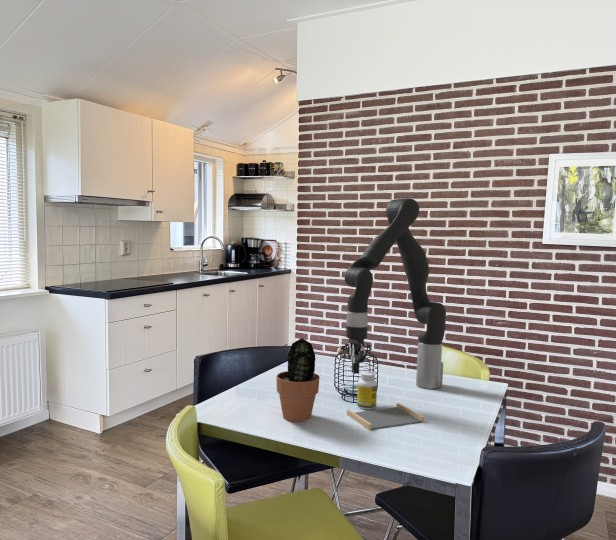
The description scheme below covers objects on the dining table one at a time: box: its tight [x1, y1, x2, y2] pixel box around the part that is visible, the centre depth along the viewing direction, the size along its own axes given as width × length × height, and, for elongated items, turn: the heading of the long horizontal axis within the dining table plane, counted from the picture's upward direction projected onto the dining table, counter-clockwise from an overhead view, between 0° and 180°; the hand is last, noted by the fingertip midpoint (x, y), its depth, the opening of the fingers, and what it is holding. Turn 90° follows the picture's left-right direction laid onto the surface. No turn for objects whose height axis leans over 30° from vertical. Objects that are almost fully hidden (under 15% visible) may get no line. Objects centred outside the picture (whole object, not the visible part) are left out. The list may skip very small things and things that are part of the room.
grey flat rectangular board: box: [346, 402, 425, 431], centre depth 163 cm, size 20×14×2 cm
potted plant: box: [275, 337, 320, 423], centre depth 161 cm, size 14×14×25 cm
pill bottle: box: [356, 371, 378, 411], centre depth 173 cm, size 6×6×12 cm
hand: (355, 373), depth 181 cm, fingers closed
